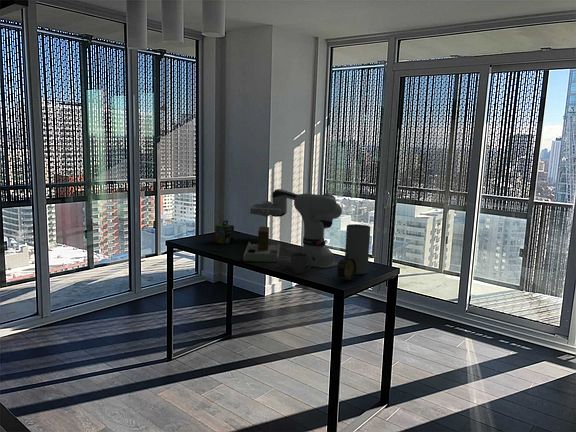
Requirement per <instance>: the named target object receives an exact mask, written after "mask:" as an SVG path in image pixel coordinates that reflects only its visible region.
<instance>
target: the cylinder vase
mask: <svg viewBox="0 0 576 432" xmlns="http://www.w3.org/2000/svg"><path fill="white" fill-rule="evenodd" d="M345 232H346V233H345V234H346V235H345V248H344V249H345V251H344V252H346V255H348V258H350V259H353V260H354V261H355V263H356V272H355V274H357V275H359V274H362V275H365V274H368V270H369V269H368V267H369V255H370V254H369V253H370V239H371V238H370V237H371V226H370V225H367V224H357V223H354V224H347V225H346V231H345ZM346 250H348V251H349V254H348V251H346ZM344 258H346V256H345V255H344Z"/></svg>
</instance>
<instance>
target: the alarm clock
mask: <svg viewBox="0 0 576 432" xmlns="http://www.w3.org/2000/svg"><path fill="white" fill-rule="evenodd" d="M346 251H348V250H346ZM344 252H345V251H344ZM348 254H349V251H348ZM345 256H346V258H345ZM336 268H337V275H338V278H340V279H341V281H342V282H341V284H344V281H351V280H352V279H354V277H355V272H356V263H355V261H354V260H353V259H350V258H348V255H346V252H345V253H344V257H343V258H342V259H341V260H339V262H338V265H337V267H336Z"/></svg>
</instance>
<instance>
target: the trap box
mask: <svg viewBox="0 0 576 432" xmlns="http://www.w3.org/2000/svg"><path fill="white" fill-rule="evenodd" d="M280 246H281V243H280V242H278V243H277V244H269V247H268V251H263V250H258V243H256V244H255V243H251V241H248V243H247V246H246V248H245V250H244V253H243V256H242V257H243V258H242V261H245V262H246V261H247V262H264V263H265V262H266V263H267V262H270V263H279V259H280V258H279V257H280ZM250 250H254V252H249V251H250ZM271 251H276V253H271Z"/></svg>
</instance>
